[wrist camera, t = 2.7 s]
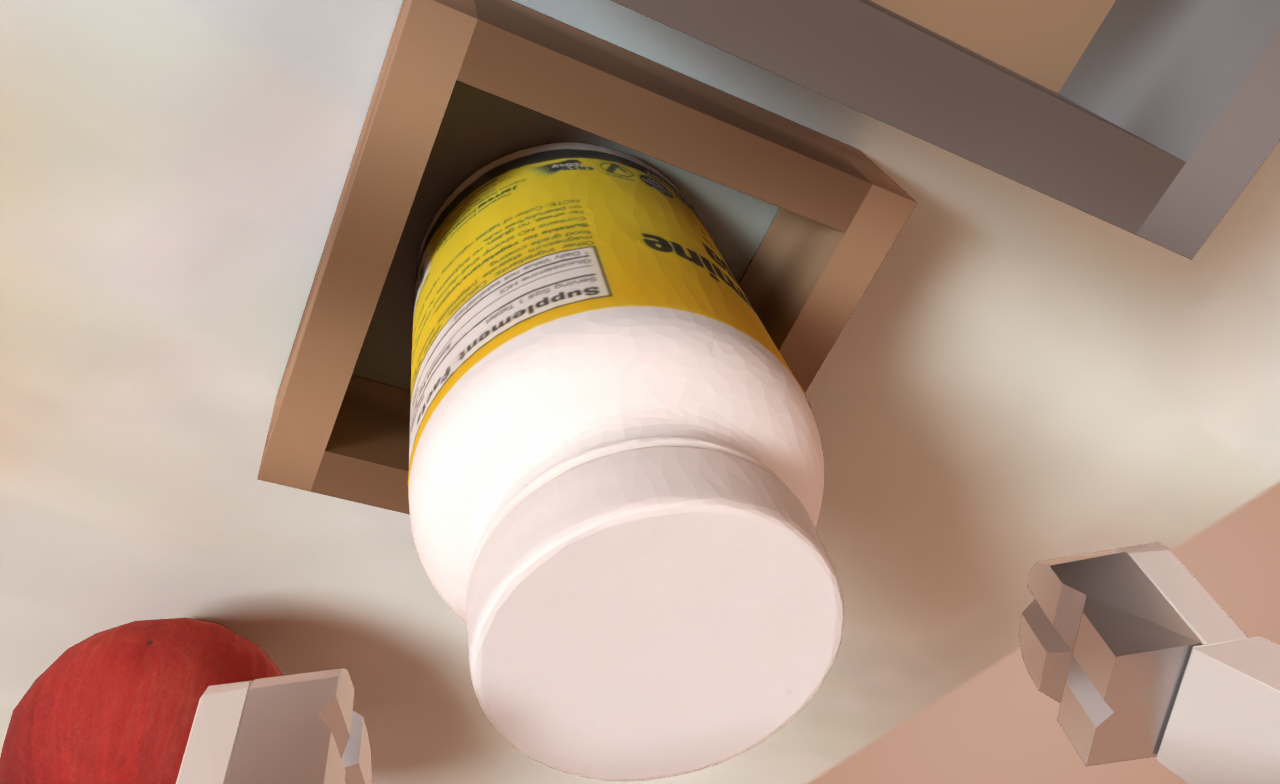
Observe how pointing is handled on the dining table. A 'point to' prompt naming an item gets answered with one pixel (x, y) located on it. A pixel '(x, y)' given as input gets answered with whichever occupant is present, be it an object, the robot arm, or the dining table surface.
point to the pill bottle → (613, 472)
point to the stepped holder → (792, 154)
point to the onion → (124, 703)
